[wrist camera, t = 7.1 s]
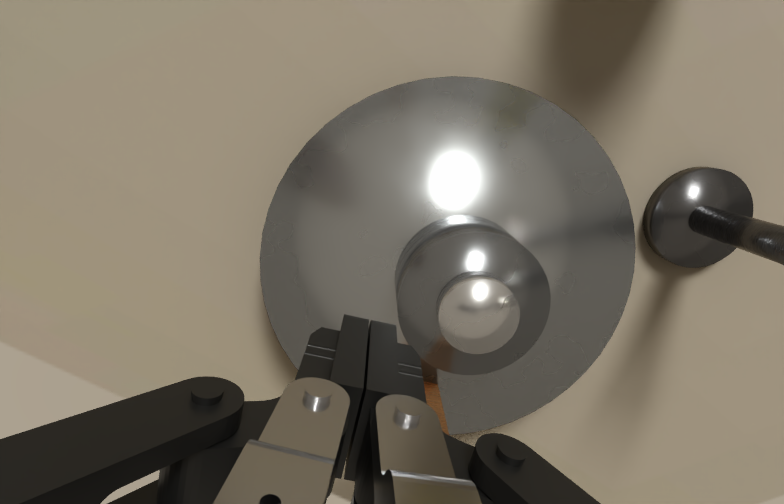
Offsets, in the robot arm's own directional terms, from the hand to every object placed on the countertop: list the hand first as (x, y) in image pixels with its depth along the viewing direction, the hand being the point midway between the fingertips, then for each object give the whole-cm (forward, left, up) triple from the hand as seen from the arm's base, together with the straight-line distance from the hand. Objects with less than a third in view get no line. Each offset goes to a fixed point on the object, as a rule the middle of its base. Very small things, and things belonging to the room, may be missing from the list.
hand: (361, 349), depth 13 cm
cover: (-4, 0, -8) cm, 9 cm away
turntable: (-4, 0, -10) cm, 11 cm away
